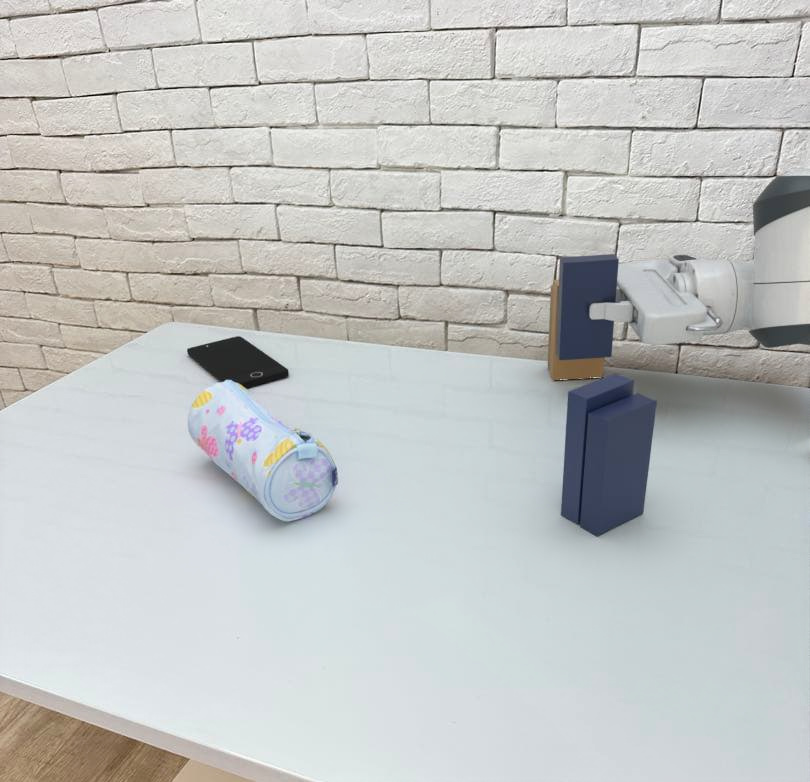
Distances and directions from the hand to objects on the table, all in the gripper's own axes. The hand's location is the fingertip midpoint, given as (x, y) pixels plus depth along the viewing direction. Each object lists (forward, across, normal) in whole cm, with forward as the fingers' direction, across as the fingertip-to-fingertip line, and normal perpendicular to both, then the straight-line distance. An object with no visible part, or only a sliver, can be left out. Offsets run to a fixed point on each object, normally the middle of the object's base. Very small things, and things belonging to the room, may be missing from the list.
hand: (585, 305), depth 104 cm
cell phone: (+47, +18, -12) cm, 52 cm away
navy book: (0, 0, -6) cm, 6 cm away
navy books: (+3, -29, -12) cm, 31 cm away
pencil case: (+39, -18, -12) cm, 45 cm away
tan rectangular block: (-1, +8, -12) cm, 14 cm away
